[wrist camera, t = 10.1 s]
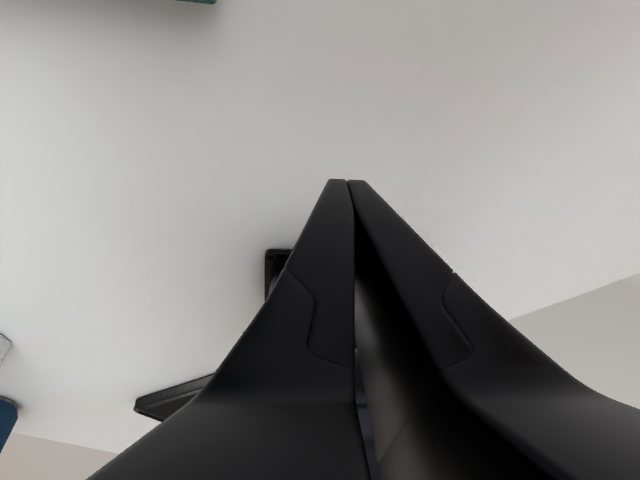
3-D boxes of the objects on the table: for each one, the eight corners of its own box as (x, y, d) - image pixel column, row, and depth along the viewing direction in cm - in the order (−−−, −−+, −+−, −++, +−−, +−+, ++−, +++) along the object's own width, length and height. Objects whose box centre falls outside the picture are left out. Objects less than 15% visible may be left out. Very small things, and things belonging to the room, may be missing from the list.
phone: (129, 409, 45) (227, 379, 40) (132, 400, 45) (229, 369, 41) (177, 427, 50) (270, 402, 45) (179, 418, 50) (270, 393, 46)
